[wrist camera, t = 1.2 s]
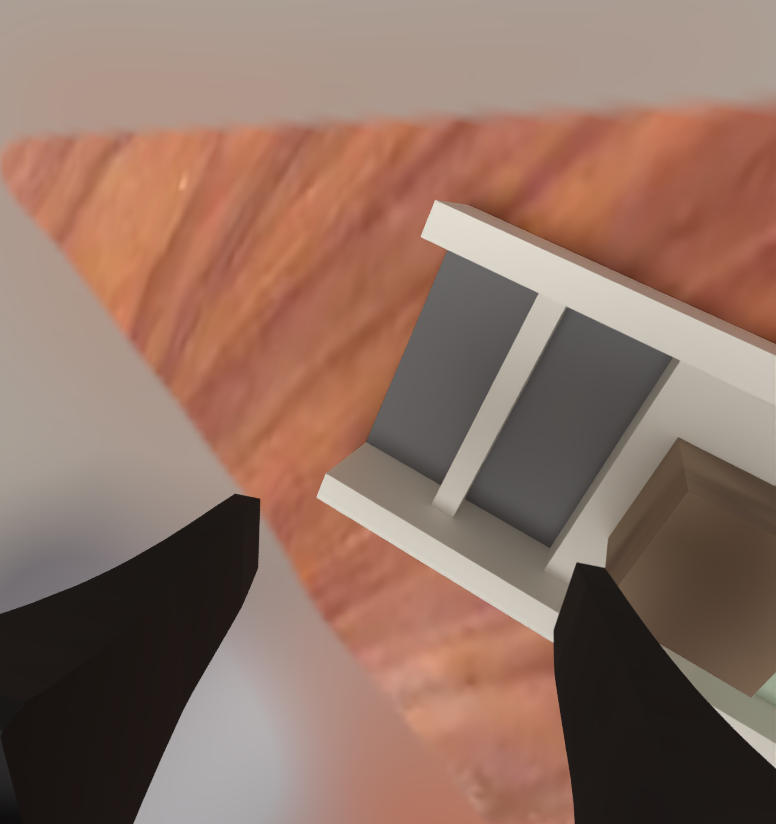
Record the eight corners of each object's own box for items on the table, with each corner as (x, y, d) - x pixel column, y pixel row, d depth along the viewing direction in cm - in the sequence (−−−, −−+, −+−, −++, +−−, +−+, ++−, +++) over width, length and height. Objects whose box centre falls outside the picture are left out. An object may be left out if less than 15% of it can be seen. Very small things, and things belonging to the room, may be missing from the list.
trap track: (1152, 514, 17) (1287, 589, 13) (863, 758, 22) (906, 859, 18) (468, 204, 22) (435, 200, 18) (358, 461, 27) (316, 497, 23)
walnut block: (815, 506, 18) (863, 582, 14) (729, 605, 20) (751, 697, 16) (678, 437, 19) (688, 490, 15) (608, 538, 21) (600, 609, 17)
